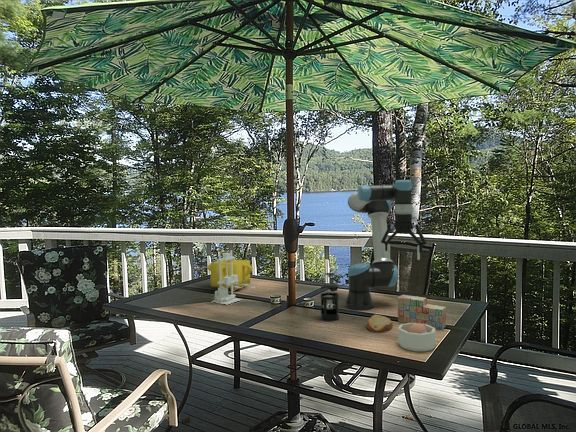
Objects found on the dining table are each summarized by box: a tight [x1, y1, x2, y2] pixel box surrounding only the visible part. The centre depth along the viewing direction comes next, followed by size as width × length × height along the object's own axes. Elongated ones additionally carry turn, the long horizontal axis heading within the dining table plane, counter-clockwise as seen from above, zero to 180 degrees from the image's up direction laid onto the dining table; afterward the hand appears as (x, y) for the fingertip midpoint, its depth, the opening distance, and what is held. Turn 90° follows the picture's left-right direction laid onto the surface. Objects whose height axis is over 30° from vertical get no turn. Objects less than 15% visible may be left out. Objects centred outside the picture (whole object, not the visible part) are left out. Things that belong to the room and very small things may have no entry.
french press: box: [320, 272, 340, 322], centre depth 211 cm, size 12×9×23 cm
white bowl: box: [397, 323, 436, 353], centre depth 173 cm, size 14×14×7 cm
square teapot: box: [206, 258, 253, 290], centre depth 282 cm, size 35×30×21 cm
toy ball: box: [408, 323, 427, 334], centre depth 173 cm, size 8×8×8 cm
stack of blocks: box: [397, 294, 447, 330], centre depth 200 cm, size 21×6×12 cm, turn 52°
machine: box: [211, 249, 256, 306], centre depth 242 cm, size 29×12×30 cm, turn 55°
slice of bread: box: [366, 314, 394, 334], centre depth 200 cm, size 18×18×4 cm
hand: (403, 259), depth 196 cm, fingers open, 13 cm apart
